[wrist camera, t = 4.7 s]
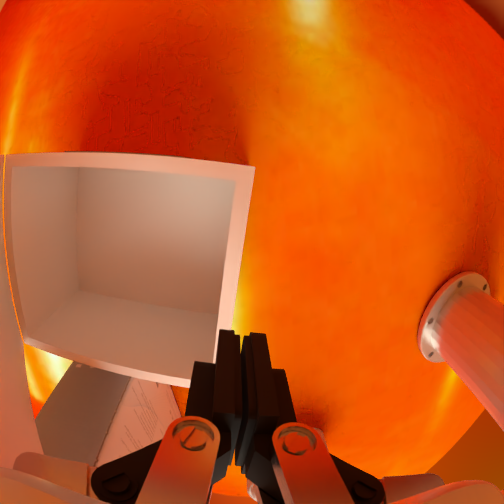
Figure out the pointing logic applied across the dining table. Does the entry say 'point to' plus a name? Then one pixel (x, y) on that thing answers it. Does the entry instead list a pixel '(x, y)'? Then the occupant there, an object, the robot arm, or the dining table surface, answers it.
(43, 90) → the dining table surface
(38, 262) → the carton
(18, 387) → the lid flap
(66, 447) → the hard drive box
